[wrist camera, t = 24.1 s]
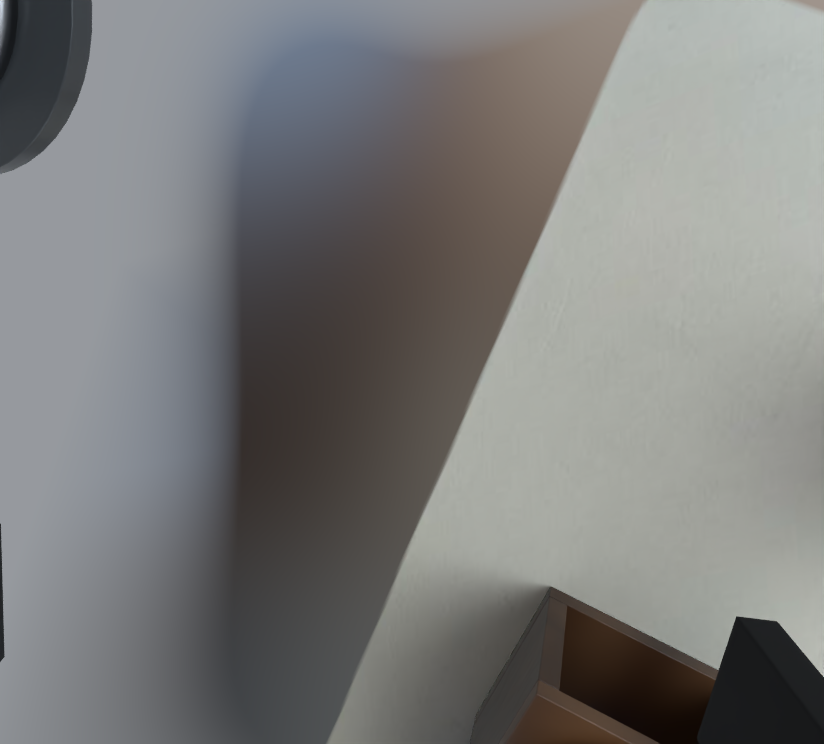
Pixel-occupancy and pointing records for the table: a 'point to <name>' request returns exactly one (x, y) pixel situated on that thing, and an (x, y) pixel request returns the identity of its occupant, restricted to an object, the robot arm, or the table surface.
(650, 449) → the table surface
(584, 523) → the table surface
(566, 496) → the table surface
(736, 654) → the robot arm
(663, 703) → the shelf
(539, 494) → the table surface
